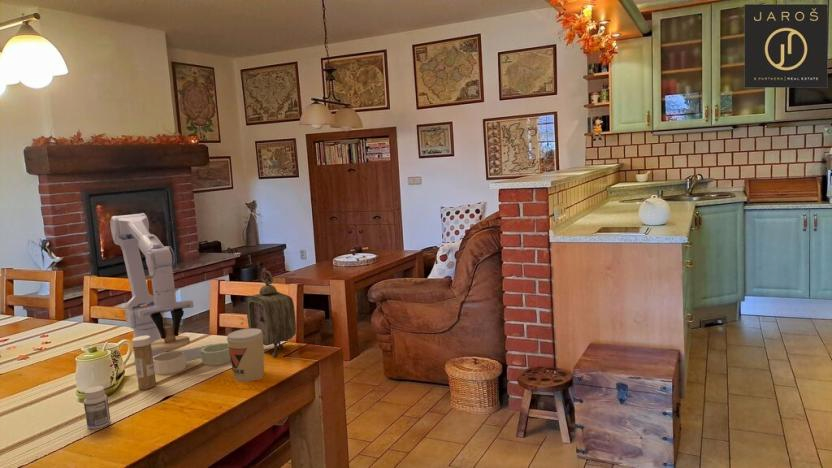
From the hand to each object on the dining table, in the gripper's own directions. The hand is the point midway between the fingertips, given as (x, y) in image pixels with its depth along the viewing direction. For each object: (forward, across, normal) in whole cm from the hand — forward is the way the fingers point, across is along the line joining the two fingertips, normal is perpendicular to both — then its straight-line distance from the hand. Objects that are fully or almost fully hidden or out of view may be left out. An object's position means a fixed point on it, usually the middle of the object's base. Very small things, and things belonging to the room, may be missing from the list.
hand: (169, 336), depth 171 cm
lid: (+2, 0, 0) cm, 2 cm away
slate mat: (+9, +10, +8) cm, 16 cm away
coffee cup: (+10, +14, -24) cm, 29 cm away
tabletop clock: (+10, +28, -8) cm, 30 cm away
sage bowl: (+9, +12, -4) cm, 15 cm away
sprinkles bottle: (+10, -9, -11) cm, 17 cm away
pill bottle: (+10, -24, -29) cm, 38 cm away
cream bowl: (+9, -1, -1) cm, 9 cm away
